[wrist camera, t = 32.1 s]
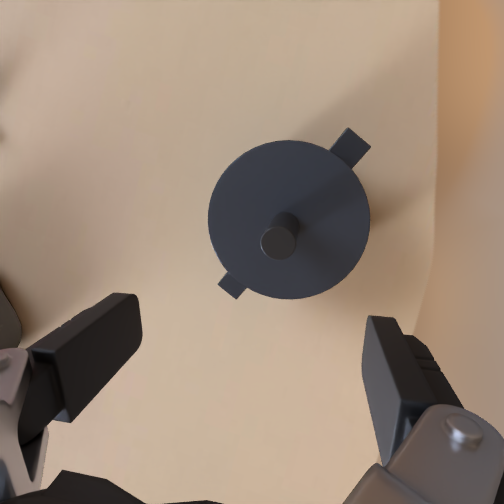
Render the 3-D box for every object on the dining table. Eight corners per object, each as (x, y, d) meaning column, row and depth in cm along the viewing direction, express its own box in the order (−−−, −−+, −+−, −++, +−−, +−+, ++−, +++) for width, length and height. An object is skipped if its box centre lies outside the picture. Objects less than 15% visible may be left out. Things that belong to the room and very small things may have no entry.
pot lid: (404, 213, 24) (436, 233, 18) (294, 321, 29) (290, 365, 23) (275, 104, 24) (262, 85, 18) (184, 231, 29) (148, 252, 22)
